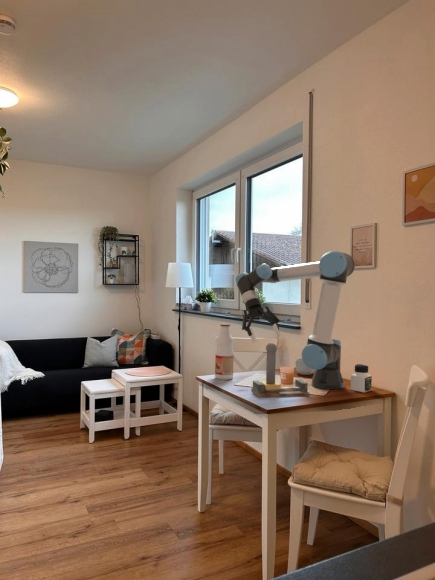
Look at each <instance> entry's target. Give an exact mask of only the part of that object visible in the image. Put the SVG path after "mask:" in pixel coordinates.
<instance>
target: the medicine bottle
mask: <svg viewBox="0 0 435 580" xmlns="http://www.w3.org/2000/svg"><path fill="white" fill-rule="evenodd" d="M372 378H373V377H372V375H371V374H369V365H367V364H363V363H362V364H361V363H358V364H355V365H354V373H353V374H350V390H351V391H353V392H360V393H364V394H365V393H367V392H370V391H372Z"/></svg>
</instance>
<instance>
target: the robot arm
mask: <svg viewBox="0 0 435 580" xmlns="http://www.w3.org/2000/svg"><path fill="white" fill-rule="evenodd" d="M354 259H355V258H353V256H351V255H350V254H348V253H347V252H346V253H345V252H341V251H339V250H337V251H336V250H332V251H328V252H326V253H324V254H323V255H322V256H321V257H320V259H319V261H315V262H307V263H300V264H294V265H287V266H279V267H272V268H271V267H270V265H268V264H267V263H262V264H260V265H258V266H257V267H256V268H255V269H252V271H250V272H249V273H248V272H241V273H239V274H237V275H236V277H235V283H236V287H237V288H238V291H239V294H240V295H241V299H242V300H243V303H244V306H245V309H246V310H245V309H244V310H243V312H242V322H241V323H242V325H241V330H242V331H245V332H246V333H247V335H248V337H250V339H251V341H252V343H255V342H256V341H257V339H256V335H255V333H254V331H253V328H252V327H251V325H252V322H253V320H254V319H264V320H266V322H268V323H270V324H272V328H273V331H274V333H275V335H276V337H277V339H279V338H280V336H281V332H280V327H279V322H280V318H278V316H276V314H274V313H273V312H272V310H270V308H269V306H265V307H263V306H262V303H261V301H260V299H259V296H258V294H257V292H256V289H255V288H256V287H258V286H259V285H260V284H262V283H270V284H277V283H279V282H289V281H297V280H304V279H305V280H306V279H313V278H319V280H320V282H321V288H320V293H319V297H318V298H319V299H318V303H317V308H316V312H315V319H314V323H313V329H312V333H311V334H310V335H309V336H308V337H307V340H306V345H305V346H304V347H303V349H302V350H301V354H300V355H301V358H302V360H303V362H304V364H305V365H306V366H307V367H309V368H311V369H314V370H315V371H314V372H313V376H312V379H311V386H313V387H314V388H318V389H323V390H340V389H343V388H344V387H345V385H344V384H345V383H344V380H343V379H344V378H343V375H342V373H341V372H342V371H341V359H342V358H341V355H342V354H341V353H342V343H341V340H340V339H335V338H334V339H333V338H332V336H333V331H334V325H335V321H336V315H337V310H338V306H339V300H340V296H341V291H342V287H343V286H345V285H346V284H347V279H348V277H350V276H351V275H352V274H353V273H354V271H355V269H356V261H355V260H354ZM248 315H249V316H250V317H249V320H248ZM247 320H248V323H247Z"/></svg>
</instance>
